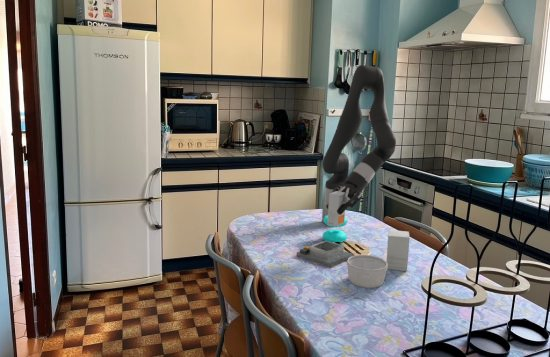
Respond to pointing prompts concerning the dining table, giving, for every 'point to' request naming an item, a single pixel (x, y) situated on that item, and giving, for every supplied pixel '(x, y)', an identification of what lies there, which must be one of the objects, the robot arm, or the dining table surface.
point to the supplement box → (398, 250)
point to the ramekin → (366, 270)
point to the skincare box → (335, 208)
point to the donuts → (334, 232)
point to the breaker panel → (325, 253)
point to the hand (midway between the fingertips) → (333, 210)
